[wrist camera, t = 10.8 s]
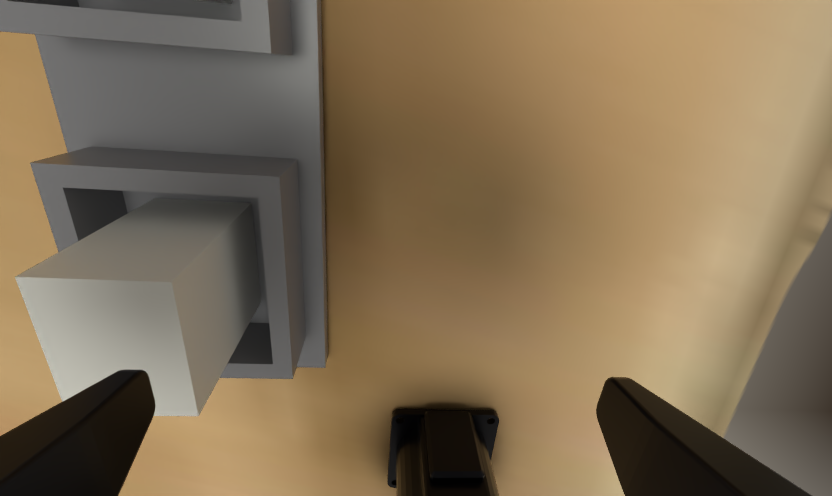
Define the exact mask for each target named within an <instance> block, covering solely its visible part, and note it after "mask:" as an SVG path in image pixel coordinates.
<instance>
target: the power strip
mask: <svg viewBox="0 0 832 496" xmlns="http://www.w3.org/2000/svg"><path fill="white" fill-rule="evenodd" d="M0 31H3V32H14V33H25V34H35V36H36V40H37V43H38V47H39V51H40V54H41V58H42V61H43V65H44V68H45V72H46V76H47V79H48V83H49V86H50V90H51V94H52V97H53V101H54V104H55V108H56V111H57V115H58V119H59V122H60V126H61V129H62V133H63V137H64V140H65V144H66V147H67V151H68V153H65V154H61V155H57V156H54V157H50V158H46V159H42V160H39V161H35V162H31V163H30V164H31V167H32V170H33V174H34V177H35V180H36V183H37V186H38V189H39V192H40V195H41V199H42V202H43V205H44V208H45V211H46V214H47V217H48V220H49V223H50V227H51V230H52V233H53V236H54V239H55V242H56V245H57V248H58V252H60V251H62V250H64V249H65V248H67V247H69V246H71V245H73V244H74V243H76V242H78V241H80V240H81V239H83V238H85V237H87V236H89V235H90V234H92V233H94V232H96V231H97V230H99V229H101V228H103V227H105V226H106V225H108V224H110V223H112V222H113V221H115V220H117V219H119V218H121V217H122V216H124V215H126V214H128V213H129V212H131V211H133V210H135V209H137V208H138V207H140V206H142V205H144V204H145V203H147V202H149V201H151V200H152V199H154V198H160V199H179V200H199V201H219V202H238V203H252V214H253V224H254V234H255V244H256V254H257V265H258V275H259V285H260V295H261V303H260V305H259V306H258V308H257V310H256V312H255V314H254V316H253V317H252V319H251V321H250V323H249V325H248V327H247V328H246V330H245V332H244V334H243V336H242V337H241V339H240V341H239V343H238V345H237V347H236V348H235V350H234V352H233V354H232V356H231V358H230V359H229V361H228V363H227V365H226V367H225V369H224V370H223V372H222V374H221V376H220V378H268V379H293V377H294V373H295V370H296V367H321V368H325V367H326V362H327V357H328V331H327V280H326V229H325V178H324V127H323V76H322V25H321V0H232V4H224V3H216V2H207V1H199V0H0Z"/></svg>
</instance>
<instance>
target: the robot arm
mask: <svg viewBox="0 0 832 496" xmlns="http://www.w3.org/2000/svg"><path fill="white" fill-rule="evenodd" d="M154 412H155V399H154V395H153V391H152V387H151V383H150V379H149V376H148V373H147V372H146V371H144V370H131V369H124V370H119V371H117V372H115V373H113V374H112V375H110V376H108V377H106V378H104V379H102V380H101V381H99V382H97V383H95V384H93V385H92V386H90V387H88V388H86V389H84V390H83V391H81V392H79V393H77V394H75V395H74V396H72V397H70V398H68V399H66V400H65V401H63V402H61V403H59V404H57V405H56V406H54V407H52V408H50V409H48V410H47V411H45V412H43V413H41V414H39V415H38V416H36V417H34V418H32V419H30V420H29V421H27V422H25V423H23V424H21V425H19V426H18V427H16V428H14V429H12V430H10V431H9V432H7V433H5V434H3V435H1V436H0V496H118V495H119V493H120V491H121V488H122V486H123V484H124V482H125V480H126V477H127V475H128V473H129V470H130V468H131V466H132V464H133V461H134V459H135V457H136V455H137V452H138V450H139V448H140V445H141V443H142V441H143V439H144V436H145V434H146V432H147V430H148V427H149V425H150V423H151V420H152V418H153V416H154ZM596 414H597V419H598V422H599V425H600V428H601V430H602V433H603V436H604V439H605V442H606V445H607V447H608V450H609V453H610V456H611V459H612V462H613V464H614V467H615V470H616V473H617V476H618V478H619V481H620V484H621V486H622V489H623V492H624V494H625V496H812V495H811V494H809V493H807V492H806V491H804V490H803V489H801V488H800V487H798V486H796V485H795V484H793V483H792V482H790V481H789V480H787V479H786V478H784V477H782V476H781V475H779V474H778V473H776V472H775V471H773V470H772V469H770V468H769V467H767V466H765V465H764V464H762V463H761V462H759V461H758V460H756V459H754V458H753V457H751V456H750V455H748V454H747V453H745V452H744V451H742V450H740V449H739V448H737V447H736V446H734V445H733V444H731V443H730V442H728V441H727V440H725V439H724V438H722V437H720V436H719V435H717V434H716V433H714V432H713V431H711V430H710V429H708V428H706V427H705V426H703V425H702V424H700V423H699V422H697V421H696V420H694V419H692V418H691V417H689V416H688V415H686V414H685V413H683V412H682V411H680V410H678V409H677V408H675V407H674V406H672V405H671V404H669V403H668V402H666V401H664V400H663V399H661V398H660V397H658V396H657V395H655V394H654V393H652V392H650V391H649V390H647V389H646V388H644V387H643V386H641V385H640V384H638V383H636V382H635V381H633V380H632V379H630V378H626V377H610V378H608V379H607V380H606V381H605V384H604V387H603V390H602V392H601V395H600V398H599V401H598V404H597V409H596ZM400 417H401V418H400ZM489 418H491V419H489ZM498 424H499V418H498V414H497V413H496V411H494V410H447V409H397V410H395V411H394V412H393V413H392V419H391V434H390V449H389V464H388V485H389V486H390V487H393V488H397V496H499V493H498V489H497V485H496V481H495V477H494V474H493V470H492V466H491V462H490V460H491V456H492V451H493V447H494V442H495V437H496V433H497V428H498Z"/></svg>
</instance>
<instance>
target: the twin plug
mask: <svg viewBox="0 0 832 496" xmlns="http://www.w3.org/2000/svg"><path fill="white" fill-rule="evenodd" d="M15 278H16V281H17V284H18V286H19V289H20V291H21V294H22V297H23V299H24V302H25V305H26V307H27V310H28V312H29V315H30V318H31V320H32V323H33V326H34V328H35V331H36V333H37V336H38V339H39V341H40V344H41V347H42V349H43V352H44V354H45V357H46V360H47V362H48V365H49V368H50V370H51V373H52V375H53V378H54V381H55V383H56V386H57V389H58V391H59V394H60V396H61V399H62V402H63V401H65V400H66V399H68V398H70V397H72V396H74V395H75V394H77V393H79V392H81V391H83V390H84V389H86V388H88V387H90V386H92V385H93V384H95V383H97V382H99V381H101V380H102V379H104V378H106V377H108V376H110V375H112V374H113V373H115V372H117V371H119V370H124V369H131V370H144V371H146V372H147V373H148V376H149V379H150V383H151V387H152V391H153V395H154V399H155V412H154V416H199V414H200V413H201V411H202V409H203V407H204V405H205V403H206V402H207V400H208V398H209V396H210V394H211V392H212V391H213V389H214V387H215V385H216V383H217V381H218V380H219V378H220V376H221V374H222V372H223V370H224V369H225V367H226V365H227V363H228V361H229V359H230V358H231V356H232V354H233V352H234V350H235V348H236V347H237V345H238V343H239V341H240V339H241V337H242V336H243V334H244V332H245V330H246V328H247V327H248V325H249V323H250V321H251V319H252V317H253V316H254V314H255V312H256V310H257V308H258V306H259V305H260V303H261V295H260V285H259V275H258V265H257V254H256V244H255V234H254V224H253V214H252V203H238V202H219V201H199V200H179V199H160V198H154V199H152V200H151V201H149V202H147V203H145V204H144V205H142V206H140V207H138V208H137V209H135V210H133V211H131V212H129V213H128V214H126V215H124V216H122V217H121V218H119V219H117V220H115V221H113V222H112V223H110V224H108V225H106V226H105V227H103V228H101V229H99V230H97V231H96V232H94V233H92V234H90V235H89V236H87V237H85V238H83V239H81V240H80V241H78V242H76V243H74V244H73V245H71V246H69V247H67V248H65V249H64V250H62V251H60V252H58V253H57V254H55V255H53V256H51V257H49V258H48V259H46V260H44V261H42V262H41V263H39V264H37V265H35V266H33V267H32V268H30V269H28V270H26V271H25V272H23V273H21V274H19V275H17V276H16V277H15Z"/></svg>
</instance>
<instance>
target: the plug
mask: <svg viewBox="0 0 832 496" xmlns="http://www.w3.org/2000/svg"><path fill="white" fill-rule="evenodd" d="M199 1H207V2H216V3H224V4H232V0H199Z"/></svg>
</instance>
